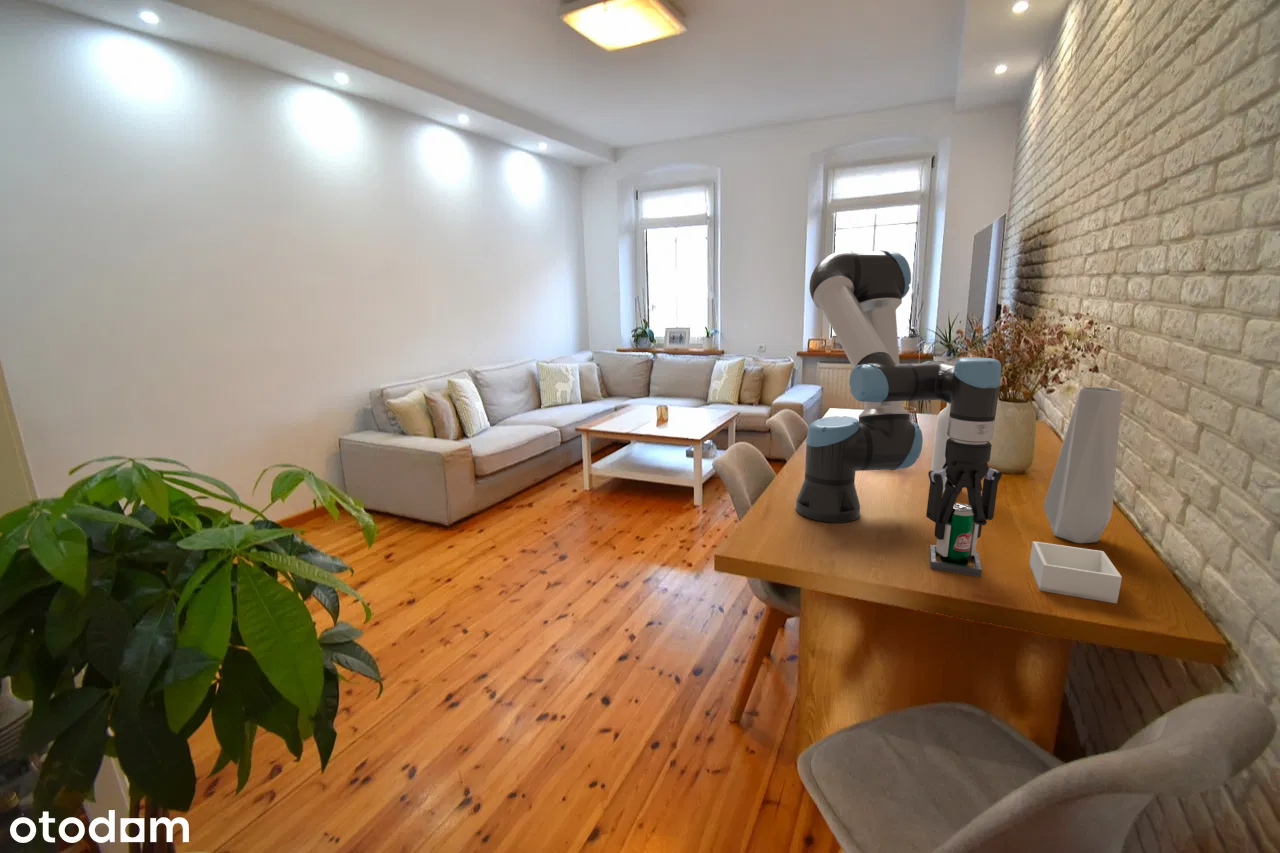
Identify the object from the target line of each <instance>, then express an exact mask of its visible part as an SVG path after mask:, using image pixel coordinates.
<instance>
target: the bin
mask: <svg viewBox="0 0 1280 853" xmlns="http://www.w3.org/2000/svg"><path fill="white" fill-rule="evenodd" d="M1031 544H1032V545H1031V551H1030V558H1029V564H1028V565H1029V567H1030V570H1031V573H1032V574H1033V578H1034V580H1035V582H1036V585H1037V588H1038V589H1039V591H1042V592H1048V593H1051V594H1052V593H1054V594H1059V595H1064V596H1070V597H1077V598H1082V599H1088V600H1093V601H1099V602H1100V601H1101V602H1105V603H1110V604H1118V600H1119V595H1120V589H1121V585H1122V579H1123V577H1122V575H1121V574H1120V572H1119V571H1118V570H1117V568H1116V567H1115V565H1114V564H1113V562H1112V561H1111V560H1110V558H1109V556H1108V555H1107V554H1106V552H1105V551H1104V550H1098V549H1090V548H1085V547H1076V546H1069V545H1063V544H1055V543H1050V542H1049V543H1047V542H1042V541H1036V540H1035V541H1033V540H1032V543H1031Z"/></svg>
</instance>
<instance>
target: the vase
mask: <svg viewBox="0 0 1280 853" xmlns="http://www.w3.org/2000/svg"><path fill="white" fill-rule="evenodd" d="M1121 404H1122V391H1121V390H1120V389H1116V388H1111V387H1101V386H1100V387H1099V386H1083V387H1081V388H1080V390H1079V392H1078V395H1077V398H1076V401H1075V404H1074V407H1073V411H1072V414H1071V418H1070V419H1069V422H1068V426H1067V429H1066V433H1065V436H1064V439H1063V442H1062V445H1061V448H1060V451H1059V455H1058V458H1057V461H1056V465H1055V468H1054V472H1053V474H1052V476H1051V480H1050V483H1049V486H1048V490H1047V493H1046V497H1045V500H1044V504H1043V509H1044V512H1045V516H1046V517H1047V519H1048V523H1049V525H1050V528H1051V531H1052V532H1053V533H1052V534H1053V536H1055V537H1058V538H1061V539H1063V540H1066V541H1070V542H1073V543H1076V544H1090V543H1097V542H1099V540H1100V538H1101V536H1102V535H1103V532H1104V530H1105V529H1106V527H1107V525H1108V524H1109V522H1110V519H1111V518H1112V514H1113V507H1114V506H1113V505H1114V494H1115V482H1116V470H1117V458H1118V456H1117V455H1118V445H1119V444H1118V443H1119V434H1120V421H1121V419H1120V418H1121V407H1122V405H1121Z"/></svg>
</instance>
